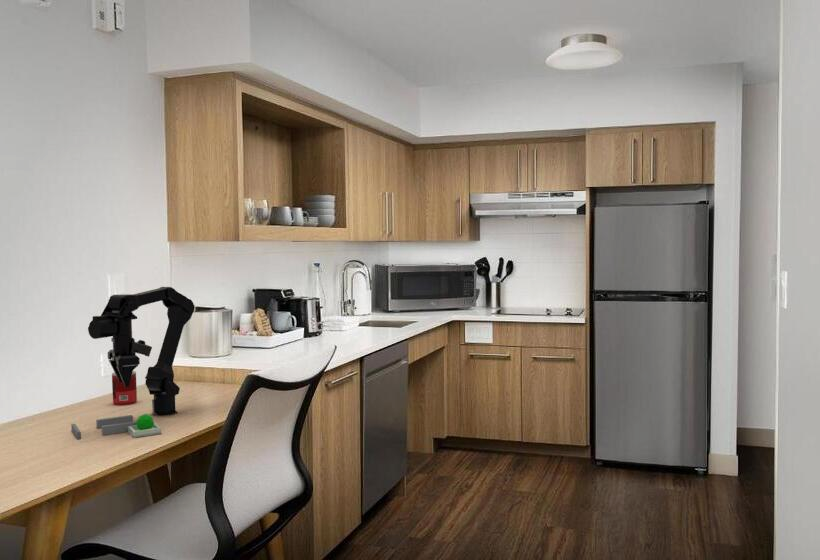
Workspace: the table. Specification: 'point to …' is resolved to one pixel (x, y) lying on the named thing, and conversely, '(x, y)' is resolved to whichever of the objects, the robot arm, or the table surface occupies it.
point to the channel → (109, 425)
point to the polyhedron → (145, 422)
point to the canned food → (124, 391)
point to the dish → (144, 431)
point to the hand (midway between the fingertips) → (124, 384)
